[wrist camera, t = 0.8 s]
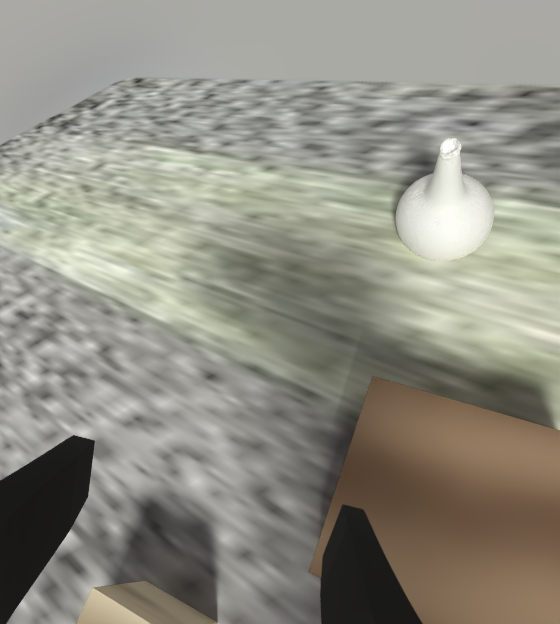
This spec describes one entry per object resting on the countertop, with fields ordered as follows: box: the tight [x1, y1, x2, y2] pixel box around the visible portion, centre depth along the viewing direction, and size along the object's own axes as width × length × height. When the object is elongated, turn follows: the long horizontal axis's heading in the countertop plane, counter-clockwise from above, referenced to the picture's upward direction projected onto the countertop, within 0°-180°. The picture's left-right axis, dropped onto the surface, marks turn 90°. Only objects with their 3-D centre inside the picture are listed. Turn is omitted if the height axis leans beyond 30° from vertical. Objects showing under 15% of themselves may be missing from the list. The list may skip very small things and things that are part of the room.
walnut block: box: [309, 376, 560, 624], centre depth 22 cm, size 10×10×4 cm
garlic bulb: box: [396, 138, 494, 261], centre depth 28 cm, size 6×6×8 cm
